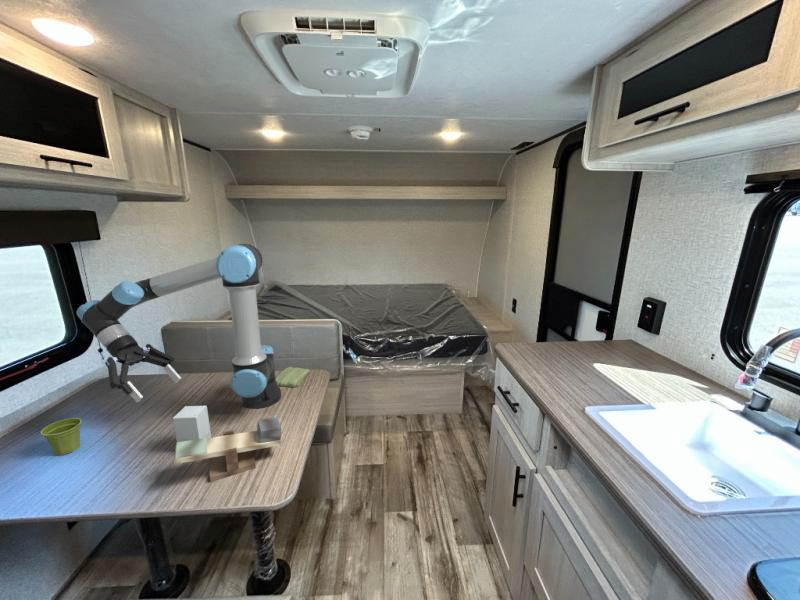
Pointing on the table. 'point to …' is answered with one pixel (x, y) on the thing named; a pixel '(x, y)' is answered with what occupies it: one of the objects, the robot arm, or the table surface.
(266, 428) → the seesaw beam
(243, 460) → the fulcrum stand
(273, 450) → the table surface
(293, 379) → the washcloth
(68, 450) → the plant pot
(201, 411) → the supplement box
